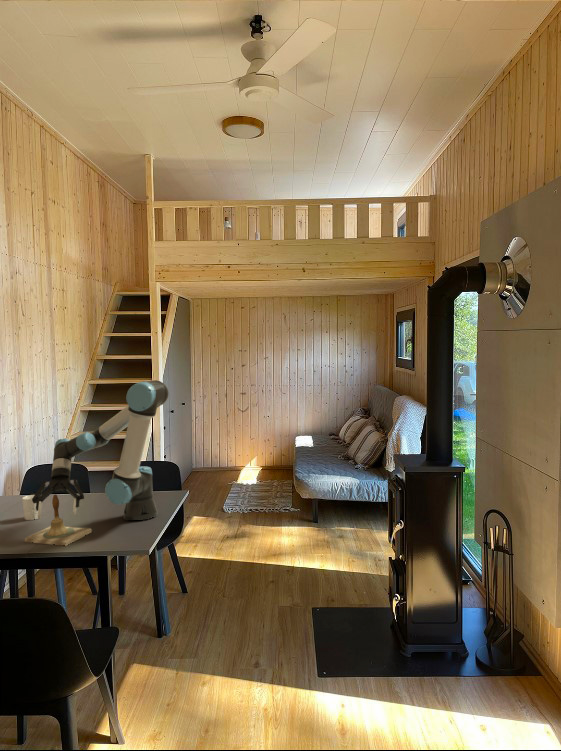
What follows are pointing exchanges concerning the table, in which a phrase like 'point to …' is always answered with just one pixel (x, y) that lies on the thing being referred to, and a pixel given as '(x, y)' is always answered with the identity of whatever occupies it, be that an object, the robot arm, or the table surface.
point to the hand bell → (57, 521)
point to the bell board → (58, 540)
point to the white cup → (29, 508)
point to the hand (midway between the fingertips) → (56, 515)
